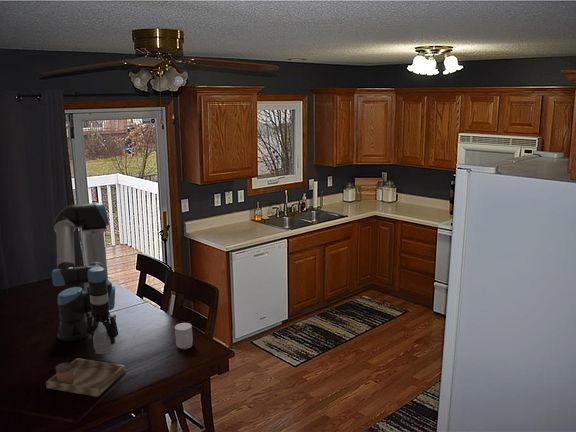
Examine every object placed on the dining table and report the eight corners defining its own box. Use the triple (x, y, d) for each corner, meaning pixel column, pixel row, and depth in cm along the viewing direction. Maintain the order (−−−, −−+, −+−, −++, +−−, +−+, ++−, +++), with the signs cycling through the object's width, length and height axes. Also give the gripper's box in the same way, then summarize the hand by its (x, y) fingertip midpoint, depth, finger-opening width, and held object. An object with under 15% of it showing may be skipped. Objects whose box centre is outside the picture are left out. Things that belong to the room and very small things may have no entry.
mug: (172, 324, 254) (188, 320, 258) (173, 341, 257) (189, 338, 260) (179, 334, 244) (196, 330, 248) (180, 352, 246) (197, 349, 250)
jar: (54, 386, 218) (52, 369, 216) (64, 378, 224) (62, 361, 222) (67, 388, 216) (65, 371, 214) (77, 380, 222) (75, 363, 220)
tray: (46, 389, 217) (45, 382, 216) (77, 365, 236) (76, 357, 235) (98, 398, 211) (97, 390, 210) (125, 372, 230) (125, 365, 229)
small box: (100, 344, 242) (98, 324, 239) (112, 344, 242) (110, 323, 239) (95, 354, 234) (93, 332, 231) (108, 353, 235) (106, 332, 232)
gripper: (74, 302, 231) (79, 349, 237) (114, 308, 226) (119, 356, 232) (85, 295, 238) (89, 341, 244) (124, 301, 233) (128, 347, 239)
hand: (104, 348), depth 238 cm, fingers closed on small box, 7 cm apart
